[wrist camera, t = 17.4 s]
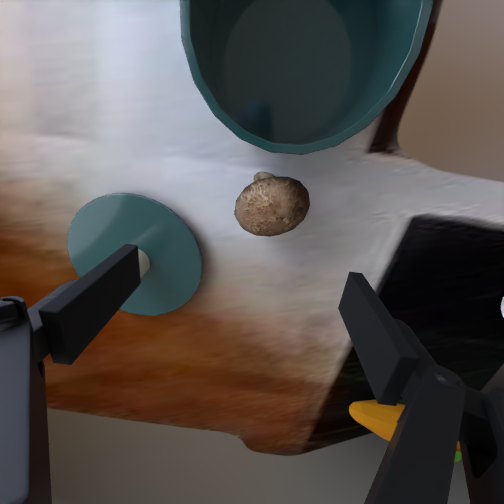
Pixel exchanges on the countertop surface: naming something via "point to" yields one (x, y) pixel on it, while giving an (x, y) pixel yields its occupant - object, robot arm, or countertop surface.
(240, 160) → the countertop surface
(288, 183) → the mushroom
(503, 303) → the spread jar
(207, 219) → the countertop surface
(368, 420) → the corn
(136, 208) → the lid
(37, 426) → the robot arm
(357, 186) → the countertop surface
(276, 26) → the pot
